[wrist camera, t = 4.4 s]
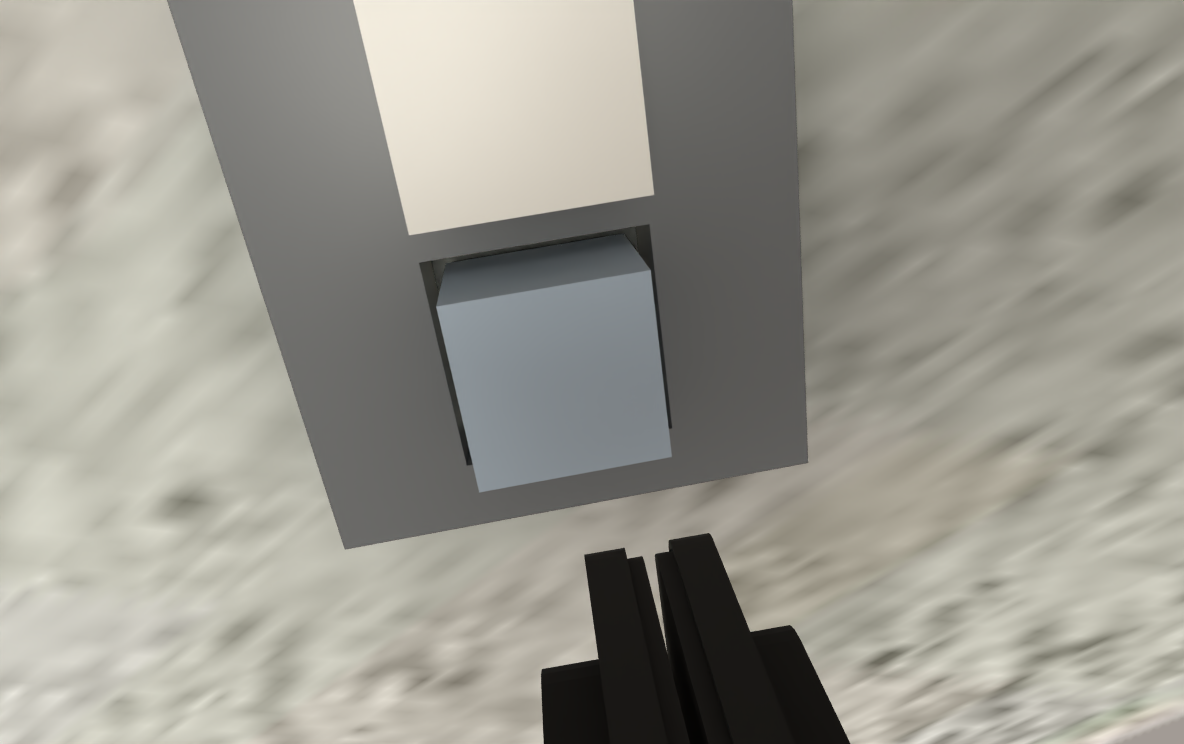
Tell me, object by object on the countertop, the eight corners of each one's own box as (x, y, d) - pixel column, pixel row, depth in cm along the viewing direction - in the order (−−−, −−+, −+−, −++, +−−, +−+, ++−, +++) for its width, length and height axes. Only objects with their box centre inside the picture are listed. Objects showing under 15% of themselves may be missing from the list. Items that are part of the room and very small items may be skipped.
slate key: (623, 233, 21) (650, 270, 18) (643, 394, 23) (672, 456, 20) (446, 263, 21) (436, 306, 18) (481, 423, 23) (479, 492, 20)
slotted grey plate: (729, -581, 16) (768, -687, 14) (779, 426, 26) (808, 462, 23) (48, -507, 15) (-29, -606, 13) (358, 503, 25) (344, 549, 22)
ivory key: (596, -57, 17) (624, -87, 14) (623, 168, 19) (654, 194, 16) (374, -24, 17) (342, -46, 13) (425, 200, 19) (409, 235, 15)
